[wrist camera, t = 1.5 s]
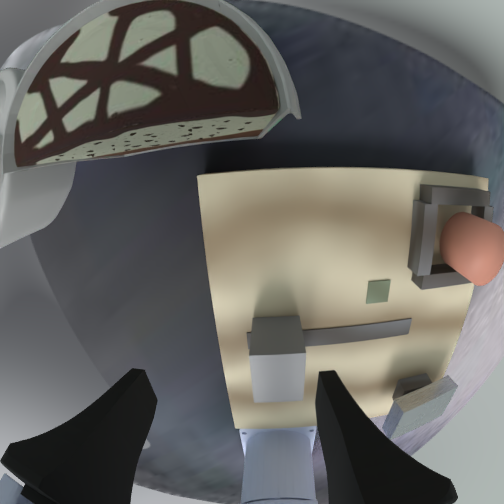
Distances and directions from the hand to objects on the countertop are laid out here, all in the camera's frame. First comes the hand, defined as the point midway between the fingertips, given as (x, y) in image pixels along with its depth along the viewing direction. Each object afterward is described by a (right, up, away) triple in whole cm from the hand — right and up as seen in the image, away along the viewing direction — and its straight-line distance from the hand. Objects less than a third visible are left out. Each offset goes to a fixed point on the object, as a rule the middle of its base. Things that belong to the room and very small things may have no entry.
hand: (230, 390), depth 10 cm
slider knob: (+3, 0, +8) cm, 8 cm away
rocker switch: (+15, -7, +6) cm, 18 cm away
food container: (-3, +15, +5) cm, 17 cm away
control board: (+9, +1, +9) cm, 13 cm away
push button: (+14, +6, +3) cm, 16 cm away
